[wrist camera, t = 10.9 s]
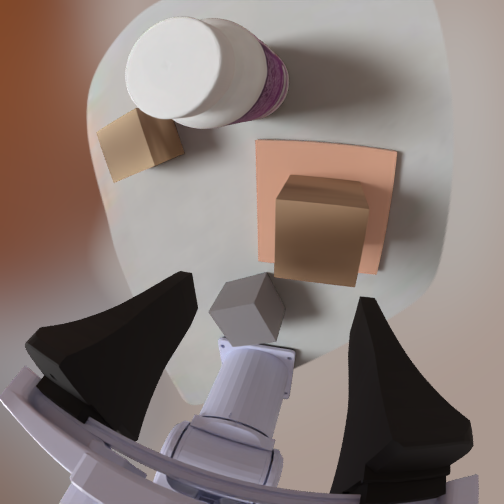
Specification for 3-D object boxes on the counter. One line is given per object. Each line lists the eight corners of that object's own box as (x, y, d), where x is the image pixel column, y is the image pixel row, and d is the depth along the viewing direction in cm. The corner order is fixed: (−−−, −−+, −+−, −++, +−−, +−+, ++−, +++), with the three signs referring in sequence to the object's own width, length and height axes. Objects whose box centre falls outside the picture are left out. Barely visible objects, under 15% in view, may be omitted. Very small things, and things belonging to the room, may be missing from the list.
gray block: (285, 308, 24) (276, 341, 20) (246, 315, 25) (232, 347, 22) (266, 271, 22) (253, 303, 19) (226, 282, 24) (208, 311, 21)
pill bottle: (292, 46, 13) (250, -11, 5) (287, 123, 16) (242, 141, 8) (211, 47, 15) (114, 18, 6) (209, 118, 17) (112, 140, 9)
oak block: (185, 153, 19) (154, 165, 16) (145, 168, 21) (113, 183, 17) (169, 104, 17) (135, 108, 14) (130, 124, 19) (96, 132, 16)
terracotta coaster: (375, 270, 19) (376, 274, 19) (260, 257, 22) (258, 261, 21) (394, 150, 15) (397, 151, 14) (257, 139, 17) (255, 140, 17)
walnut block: (351, 244, 18) (354, 287, 14) (288, 236, 19) (274, 277, 15) (359, 181, 16) (369, 209, 12) (290, 174, 17) (275, 199, 13)
